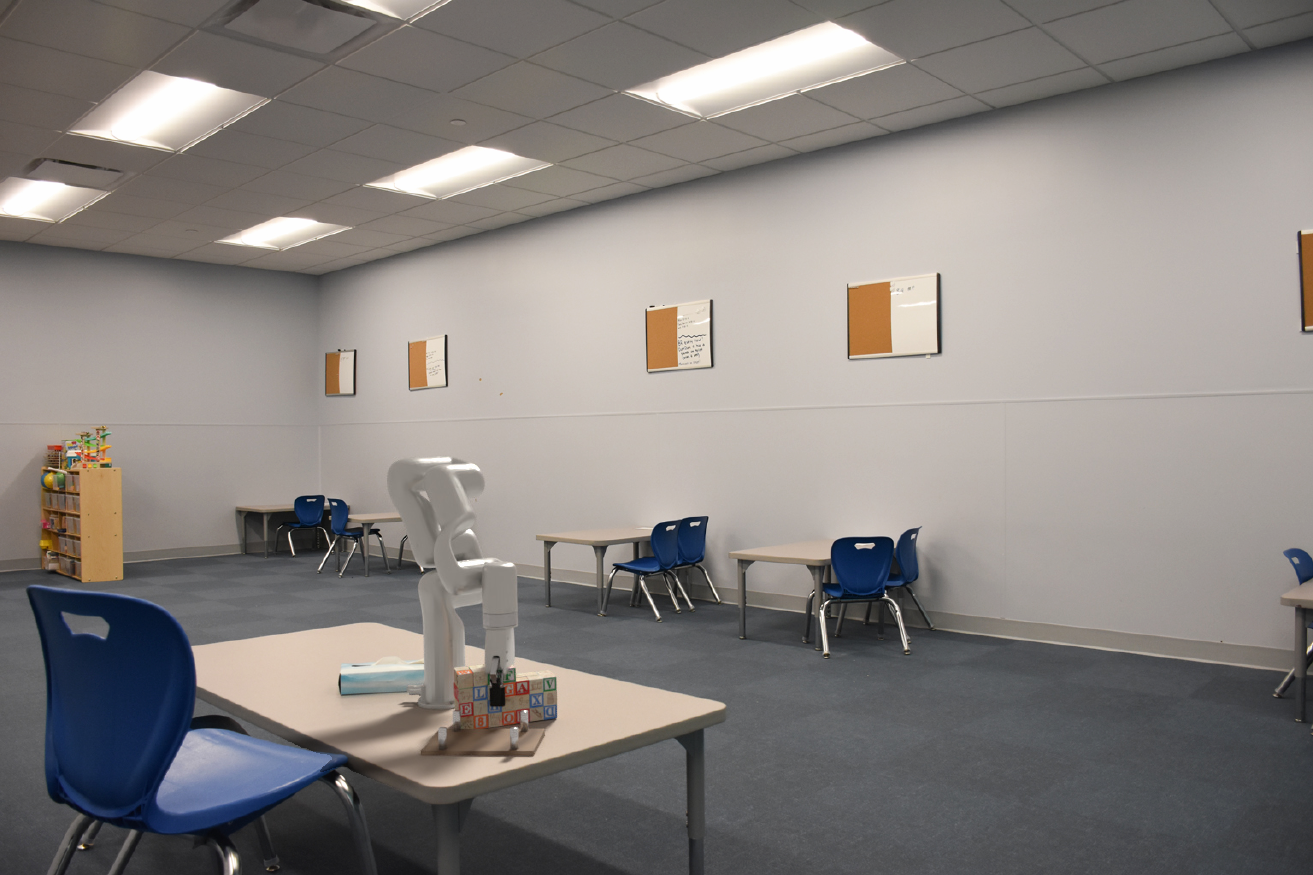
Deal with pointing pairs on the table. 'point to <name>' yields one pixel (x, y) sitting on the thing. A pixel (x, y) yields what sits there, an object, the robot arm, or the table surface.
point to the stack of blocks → (520, 694)
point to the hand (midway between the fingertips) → (502, 699)
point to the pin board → (485, 740)
